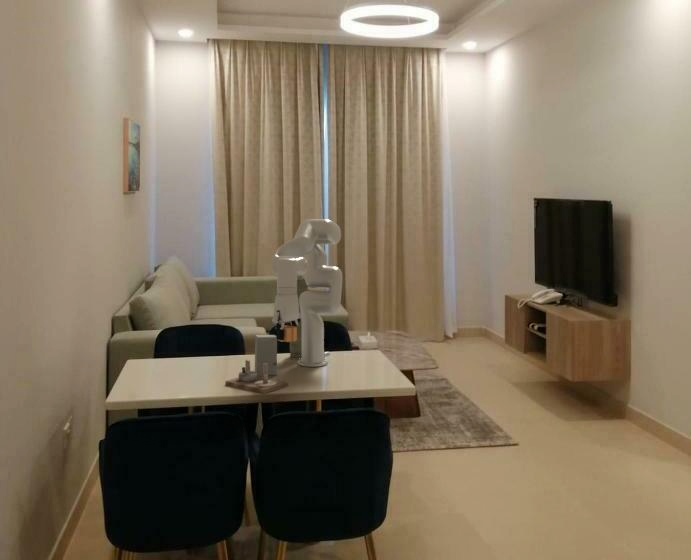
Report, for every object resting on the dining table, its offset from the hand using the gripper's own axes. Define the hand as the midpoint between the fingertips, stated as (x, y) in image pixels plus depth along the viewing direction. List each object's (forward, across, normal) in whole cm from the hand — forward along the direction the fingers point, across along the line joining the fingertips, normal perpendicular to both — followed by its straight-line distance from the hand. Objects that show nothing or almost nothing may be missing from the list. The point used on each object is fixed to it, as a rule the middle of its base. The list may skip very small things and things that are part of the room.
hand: (287, 337), depth 259 cm
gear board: (+18, +7, -9) cm, 22 cm away
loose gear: (+1, 0, 0) cm, 1 cm away
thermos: (+18, -40, -26) cm, 51 cm away
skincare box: (+18, -8, -18) cm, 27 cm away
